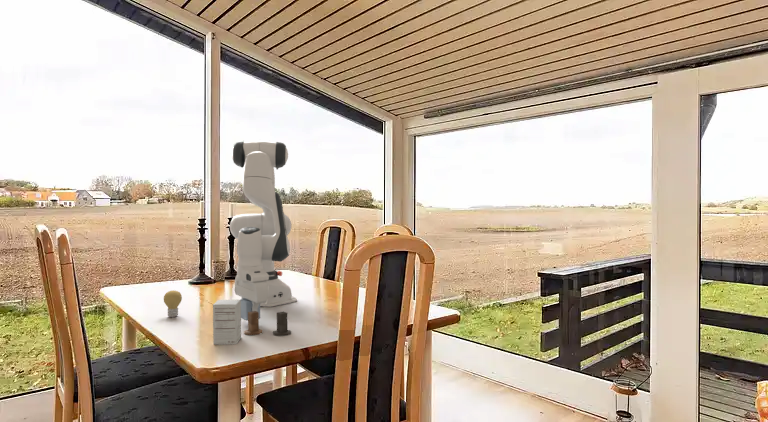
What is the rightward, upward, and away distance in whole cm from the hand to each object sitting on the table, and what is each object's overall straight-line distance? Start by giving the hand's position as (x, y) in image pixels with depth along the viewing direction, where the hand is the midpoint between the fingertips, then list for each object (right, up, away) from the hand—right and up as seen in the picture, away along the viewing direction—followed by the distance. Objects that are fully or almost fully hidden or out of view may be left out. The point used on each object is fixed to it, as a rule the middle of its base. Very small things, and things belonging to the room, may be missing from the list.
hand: (250, 311), depth 176 cm
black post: (+14, -5, -12) cm, 19 cm away
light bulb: (-33, -5, +13) cm, 36 cm away
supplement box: (-2, -6, -21) cm, 21 cm away
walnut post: (+4, -5, -11) cm, 13 cm away
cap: (0, -3, 0) cm, 2 cm away
